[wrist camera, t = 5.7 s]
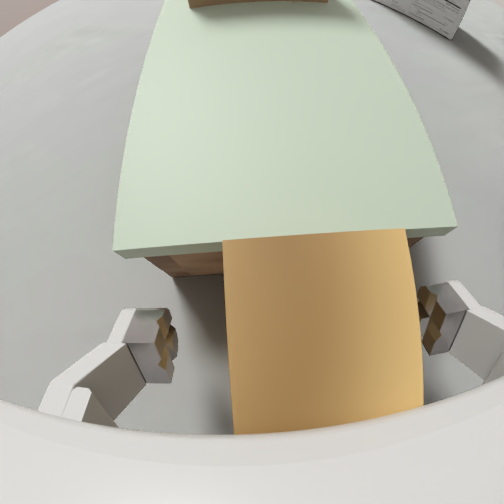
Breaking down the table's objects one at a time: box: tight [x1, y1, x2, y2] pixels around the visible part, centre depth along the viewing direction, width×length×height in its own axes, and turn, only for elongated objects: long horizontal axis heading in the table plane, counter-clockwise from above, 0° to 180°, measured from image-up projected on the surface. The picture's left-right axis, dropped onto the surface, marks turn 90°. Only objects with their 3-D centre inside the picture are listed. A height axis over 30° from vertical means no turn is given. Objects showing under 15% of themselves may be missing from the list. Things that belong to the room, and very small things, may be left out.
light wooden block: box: [222, 228, 423, 435], centre depth 9 cm, size 4×4×9 cm
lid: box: [113, 0, 458, 259], centre depth 10 cm, size 12×19×5 cm, turn 4°
